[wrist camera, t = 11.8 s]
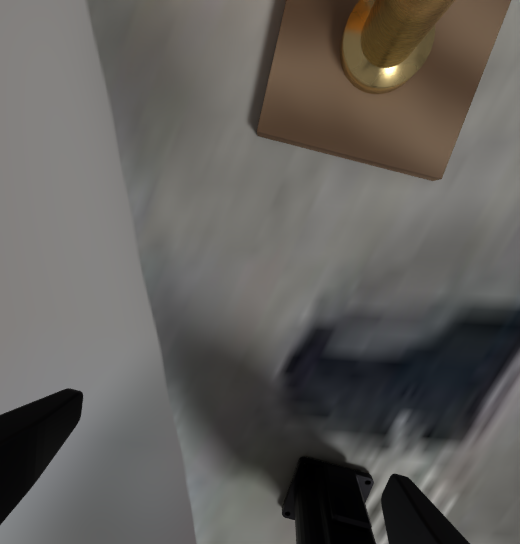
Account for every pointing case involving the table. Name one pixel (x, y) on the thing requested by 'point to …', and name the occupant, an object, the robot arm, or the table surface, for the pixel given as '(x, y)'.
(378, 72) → the brass pin
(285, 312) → the table surface
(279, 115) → the board
